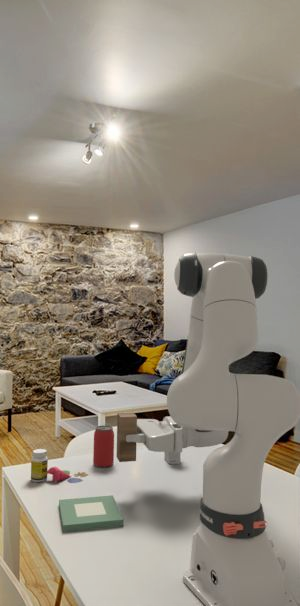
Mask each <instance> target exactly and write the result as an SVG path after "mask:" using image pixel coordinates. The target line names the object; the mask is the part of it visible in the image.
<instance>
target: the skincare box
mask: <svg viewBox="0 0 300 606" xmlns="http://www.w3.org/2000/svg"><path fill="white" fill-rule="evenodd" d="M163 453H164V457H163V458H164V460H165V461H166V462H167V463H168V464H169V465H178V464H181V453H175V452H173V451H171V452H163Z"/></svg>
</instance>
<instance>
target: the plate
mask: <svg viewBox="0 0 300 606" xmlns="http://www.w3.org/2000/svg"><path fill="white" fill-rule="evenodd" d="M58 508H59V514H60V520H61V528H62V529H61V530H62V533H65V532H67V533H68V532H76V531H77V532H78V531H85V530H86V531H88V530H96V529H104V528H116V527H124V520H125V519H124V517H123V516H122V512H121V511H120V508H119V506H118V504H117V502H116V499H115V497H114V495H100V496H99V495H98V496H89V497H88V496H87V497H79V498H78V497H77V498H67V499H66V498H64V499H58Z"/></svg>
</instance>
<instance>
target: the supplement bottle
mask: <svg viewBox="0 0 300 606" xmlns="http://www.w3.org/2000/svg"><path fill="white" fill-rule="evenodd" d="M47 453H48V452H47V449H45V448H37V449H34V450H32V457H31V460H30V462H31V464H30V480H31V482H34V483H42V482H45V481H46V480H48V474H47V471H48V467H49V466H48V464H49V463H48V456H47V455H48V454H47Z"/></svg>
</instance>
